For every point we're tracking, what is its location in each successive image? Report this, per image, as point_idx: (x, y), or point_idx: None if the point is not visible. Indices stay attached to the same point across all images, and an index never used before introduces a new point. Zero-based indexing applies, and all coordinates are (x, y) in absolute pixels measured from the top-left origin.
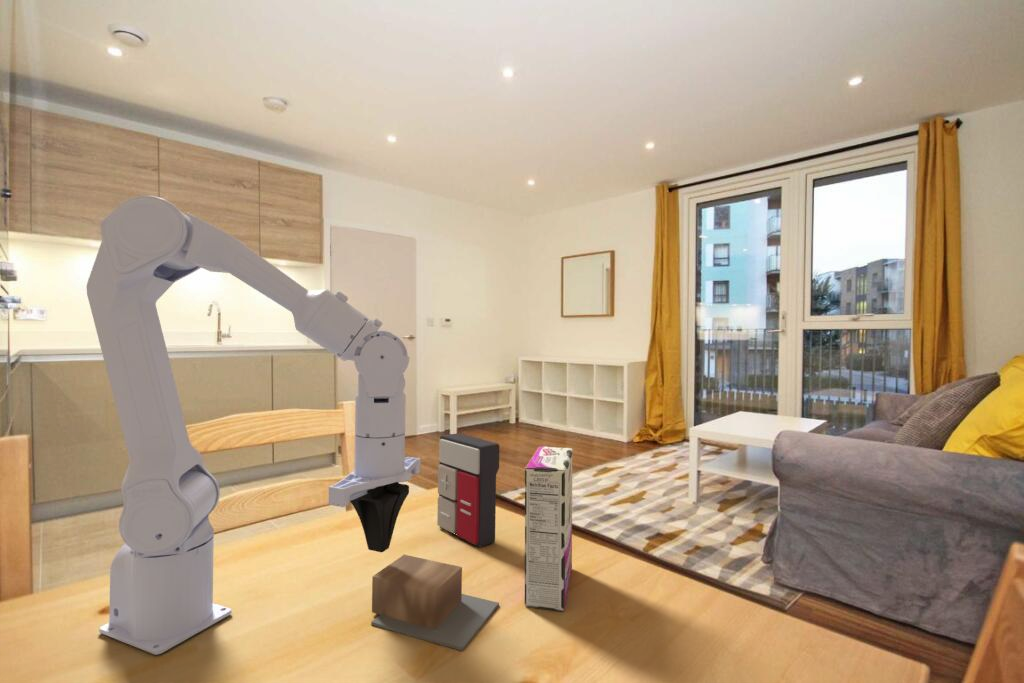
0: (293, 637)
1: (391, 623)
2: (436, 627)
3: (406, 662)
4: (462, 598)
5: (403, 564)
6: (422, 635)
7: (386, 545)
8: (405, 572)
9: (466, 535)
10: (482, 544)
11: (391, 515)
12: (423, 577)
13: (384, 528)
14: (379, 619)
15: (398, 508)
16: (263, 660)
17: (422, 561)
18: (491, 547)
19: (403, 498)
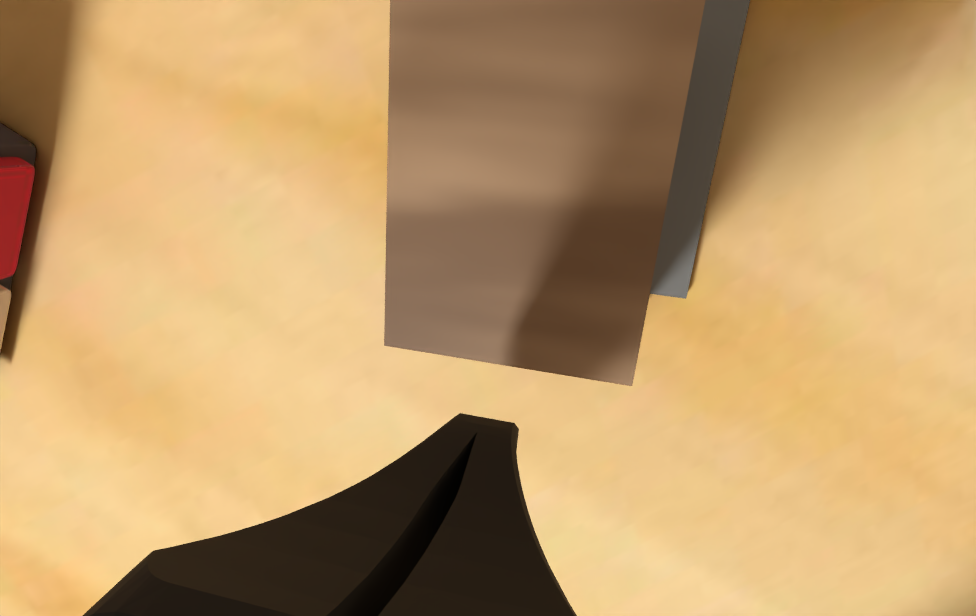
0: (809, 494)
1: (677, 221)
2: None
3: (898, 40)
4: None
5: (477, 301)
6: (730, 56)
7: (486, 426)
8: (549, 254)
9: (5, 222)
10: (17, 137)
11: (415, 525)
12: (572, 135)
13: (514, 495)
14: (662, 277)
15: (335, 520)
16: (947, 513)
17: (413, 225)
18: (8, 99)
19: (253, 553)
